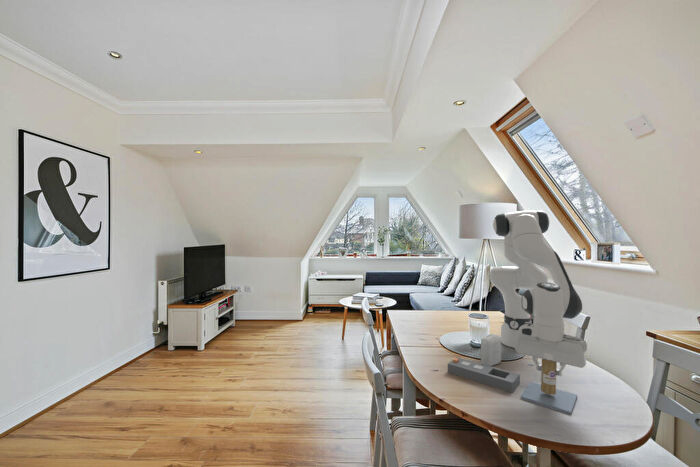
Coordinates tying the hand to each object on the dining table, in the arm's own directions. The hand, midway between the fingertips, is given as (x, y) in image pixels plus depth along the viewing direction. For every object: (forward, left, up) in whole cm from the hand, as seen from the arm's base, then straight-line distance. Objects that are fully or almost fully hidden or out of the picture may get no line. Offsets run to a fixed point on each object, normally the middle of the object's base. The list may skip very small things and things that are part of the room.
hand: (548, 372), depth 106 cm
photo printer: (-16, -24, -9) cm, 30 cm away
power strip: (0, -22, -9) cm, 23 cm away
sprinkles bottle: (0, 0, -7) cm, 7 cm away
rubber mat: (0, 0, -9) cm, 9 cm away
